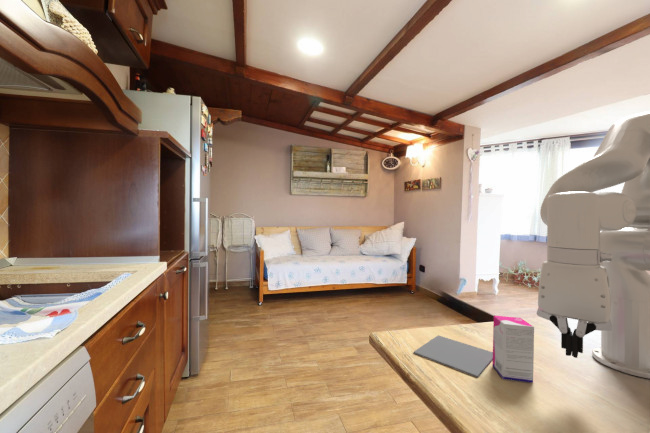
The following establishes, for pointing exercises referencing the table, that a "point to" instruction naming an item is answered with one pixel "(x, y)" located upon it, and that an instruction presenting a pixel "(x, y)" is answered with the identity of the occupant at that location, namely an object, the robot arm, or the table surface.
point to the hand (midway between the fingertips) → (572, 354)
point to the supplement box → (513, 348)
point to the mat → (456, 355)
